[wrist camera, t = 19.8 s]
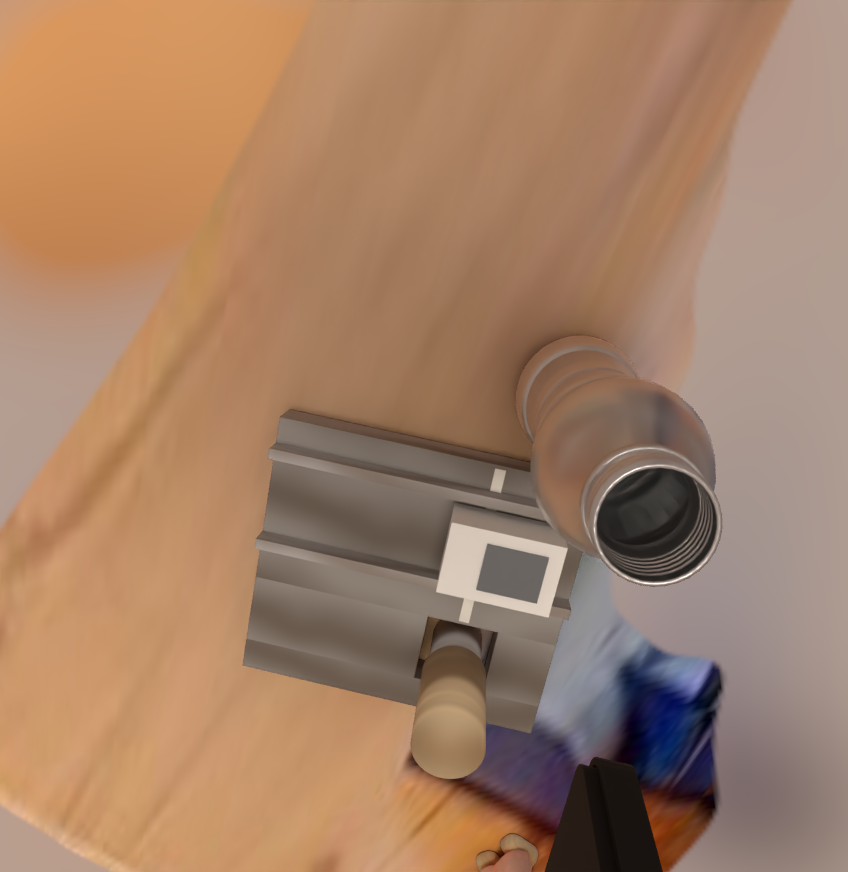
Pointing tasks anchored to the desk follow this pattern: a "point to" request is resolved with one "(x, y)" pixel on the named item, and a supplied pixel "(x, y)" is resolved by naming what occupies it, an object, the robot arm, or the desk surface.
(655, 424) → the plastic bottle
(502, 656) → the grey ridged panel
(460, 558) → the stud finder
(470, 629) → the tan cylinder
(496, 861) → the grandmother figurine
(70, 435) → the desk surface
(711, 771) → the desk surface
